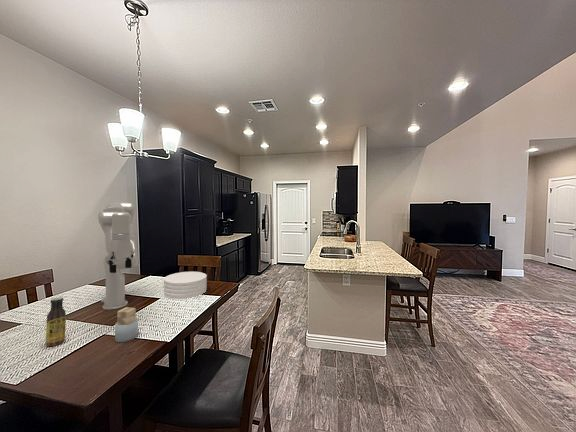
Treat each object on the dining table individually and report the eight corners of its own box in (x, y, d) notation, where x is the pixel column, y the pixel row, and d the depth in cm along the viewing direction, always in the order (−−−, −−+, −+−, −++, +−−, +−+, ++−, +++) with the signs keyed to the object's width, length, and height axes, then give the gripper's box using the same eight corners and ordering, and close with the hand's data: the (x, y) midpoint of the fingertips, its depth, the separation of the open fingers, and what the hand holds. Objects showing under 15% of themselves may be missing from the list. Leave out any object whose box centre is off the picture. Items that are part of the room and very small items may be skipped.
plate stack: (202, 284, 193) (202, 269, 193) (210, 295, 169) (210, 279, 169) (162, 289, 179) (162, 274, 178) (165, 303, 155) (165, 285, 154)
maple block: (117, 324, 112) (117, 311, 112) (126, 319, 117) (126, 307, 117) (127, 325, 112) (127, 312, 111) (135, 320, 116) (135, 308, 116)
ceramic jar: (110, 341, 111) (109, 326, 110) (125, 331, 120) (125, 317, 119) (127, 343, 110) (127, 327, 109) (142, 333, 118) (142, 318, 118)
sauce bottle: (48, 348, 104) (47, 302, 103) (43, 344, 107) (43, 299, 106) (68, 341, 109) (67, 298, 109) (63, 337, 113) (62, 295, 112)
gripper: (127, 234, 133) (127, 265, 134) (98, 238, 116) (99, 274, 117) (140, 235, 132) (140, 266, 133) (113, 239, 115) (113, 275, 116)
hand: (120, 270), depth 125 cm, fingers open, 9 cm apart
